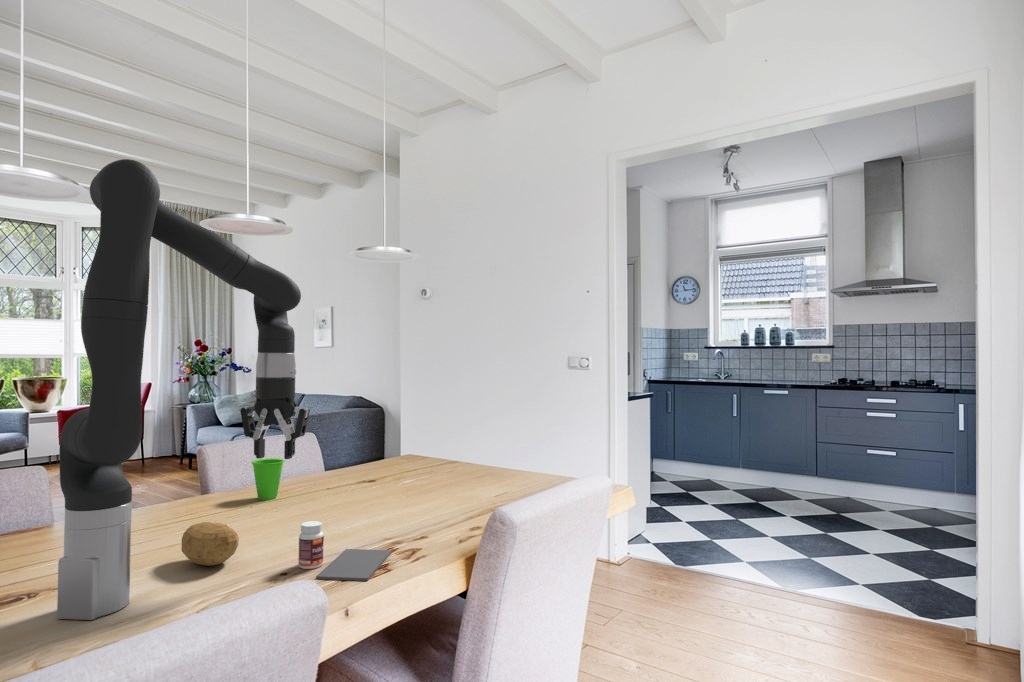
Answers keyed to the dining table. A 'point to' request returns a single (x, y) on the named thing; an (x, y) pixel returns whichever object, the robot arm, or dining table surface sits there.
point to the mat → (354, 565)
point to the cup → (267, 477)
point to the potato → (209, 543)
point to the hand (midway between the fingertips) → (274, 457)
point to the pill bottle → (311, 545)
